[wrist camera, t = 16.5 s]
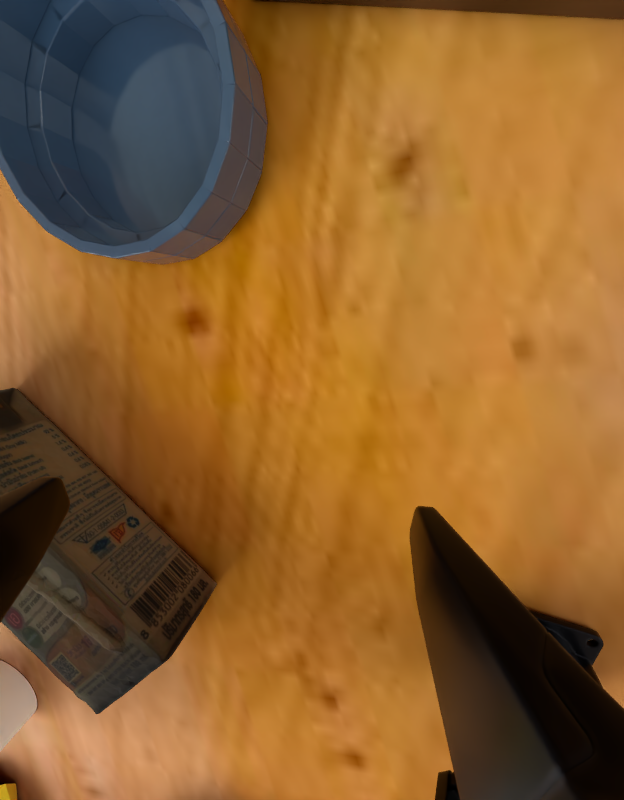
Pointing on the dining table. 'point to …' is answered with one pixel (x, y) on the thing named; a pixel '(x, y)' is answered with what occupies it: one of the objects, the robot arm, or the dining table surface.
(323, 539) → the dining table surface
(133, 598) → the beverage carton
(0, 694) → the cylindrical container
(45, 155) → the bowl
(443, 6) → the board
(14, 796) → the orange-capped yellow polyhedron
